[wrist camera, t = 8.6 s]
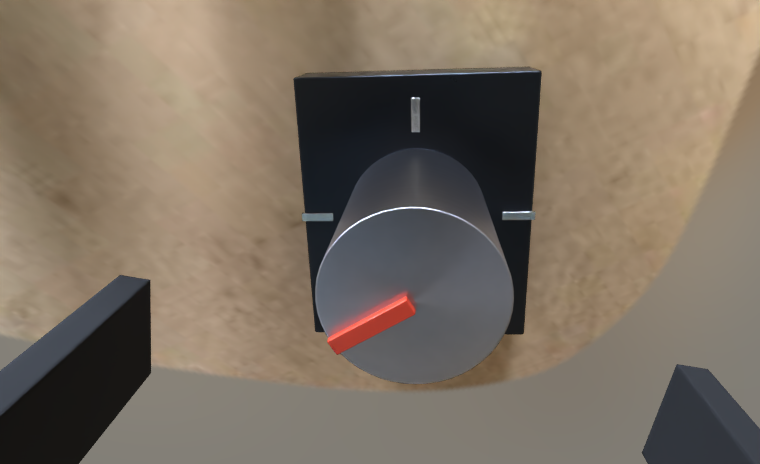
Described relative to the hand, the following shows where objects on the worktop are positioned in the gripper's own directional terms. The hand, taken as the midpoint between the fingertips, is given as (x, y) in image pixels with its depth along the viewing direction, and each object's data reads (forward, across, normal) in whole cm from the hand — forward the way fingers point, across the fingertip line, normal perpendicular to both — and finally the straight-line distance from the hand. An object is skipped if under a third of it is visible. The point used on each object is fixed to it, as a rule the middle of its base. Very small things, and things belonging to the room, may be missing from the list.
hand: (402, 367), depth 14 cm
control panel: (+14, 0, 0) cm, 14 cm away
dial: (+11, 0, 0) cm, 11 cm away
